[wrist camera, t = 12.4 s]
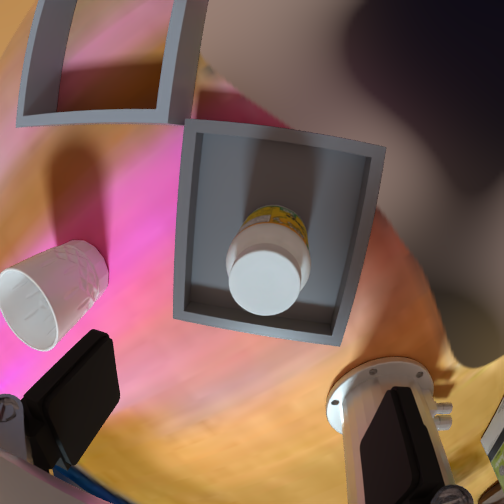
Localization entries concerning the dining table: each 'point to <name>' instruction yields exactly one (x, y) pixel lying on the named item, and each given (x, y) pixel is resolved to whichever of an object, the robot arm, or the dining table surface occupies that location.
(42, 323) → the white cup
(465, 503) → the robot arm
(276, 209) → the supplement bottle
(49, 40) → the gray square frame
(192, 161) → the tray
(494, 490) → the plant saucer
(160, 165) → the dining table surface
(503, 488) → the tea box
